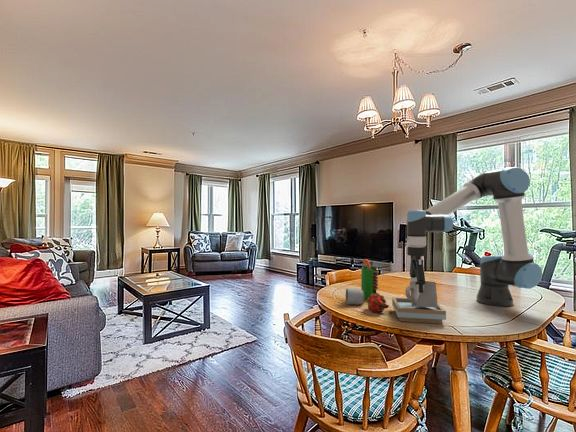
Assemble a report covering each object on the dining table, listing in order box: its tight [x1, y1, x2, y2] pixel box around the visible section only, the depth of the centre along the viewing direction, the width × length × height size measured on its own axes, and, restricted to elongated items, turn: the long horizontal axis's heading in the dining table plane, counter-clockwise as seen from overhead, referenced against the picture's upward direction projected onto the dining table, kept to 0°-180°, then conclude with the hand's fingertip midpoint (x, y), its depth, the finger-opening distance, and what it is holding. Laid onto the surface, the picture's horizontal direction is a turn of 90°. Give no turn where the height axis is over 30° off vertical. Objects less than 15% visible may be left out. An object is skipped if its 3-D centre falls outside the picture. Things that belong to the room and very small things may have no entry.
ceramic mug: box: [345, 287, 365, 306], centre depth 155 cm, size 11×8×8 cm
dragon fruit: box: [366, 292, 390, 314], centre depth 141 cm, size 8×8×12 cm
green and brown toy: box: [360, 259, 379, 301], centre depth 165 cm, size 10×9×20 cm
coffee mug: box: [405, 280, 439, 307], centre depth 130 cm, size 13×10×10 cm
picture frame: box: [391, 297, 447, 324], centre depth 133 cm, size 18×18×6 cm
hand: (417, 296), depth 133 cm, fingers open, 13 cm apart
